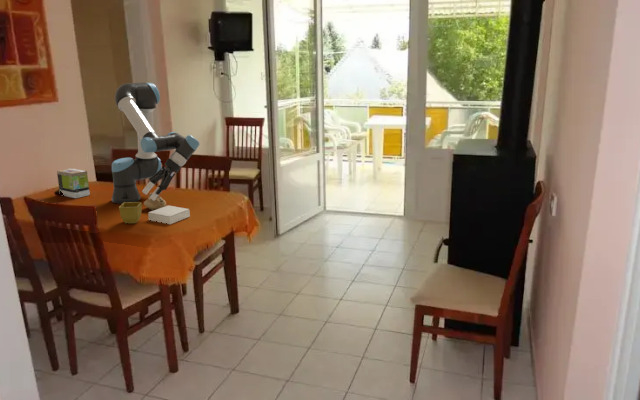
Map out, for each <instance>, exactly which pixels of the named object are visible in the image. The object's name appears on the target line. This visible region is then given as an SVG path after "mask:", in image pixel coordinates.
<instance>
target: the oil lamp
mask: <svg viewBox="0 0 640 400" xmlns="http://www.w3.org/2000/svg"><path fill="white" fill-rule="evenodd" d="M152 194H153V192H150V193H148V197H147V199H146V200H145V201H144V202H143V205H144V206H145V207H146V208H147V209H149V210H151V211H154V210H157V209H160V208H162V207H165V206H167V202H166V200H165V199H164V198H162V196H160V195H159V196H158V197H157V198H156V199H155V201H153V200H152V199H151V198H149V197H150V196H151V195H152Z"/></svg>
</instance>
